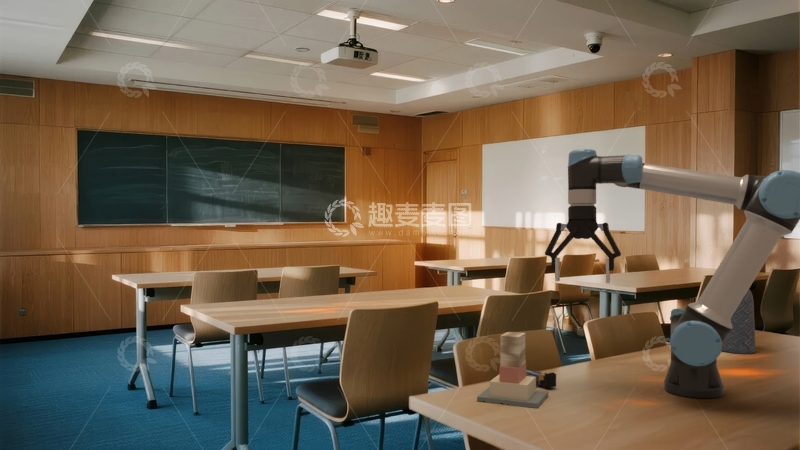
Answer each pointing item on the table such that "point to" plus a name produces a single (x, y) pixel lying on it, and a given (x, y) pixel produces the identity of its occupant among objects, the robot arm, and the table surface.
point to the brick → (512, 349)
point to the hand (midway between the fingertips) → (582, 282)
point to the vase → (742, 328)
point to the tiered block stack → (514, 388)
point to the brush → (543, 378)
